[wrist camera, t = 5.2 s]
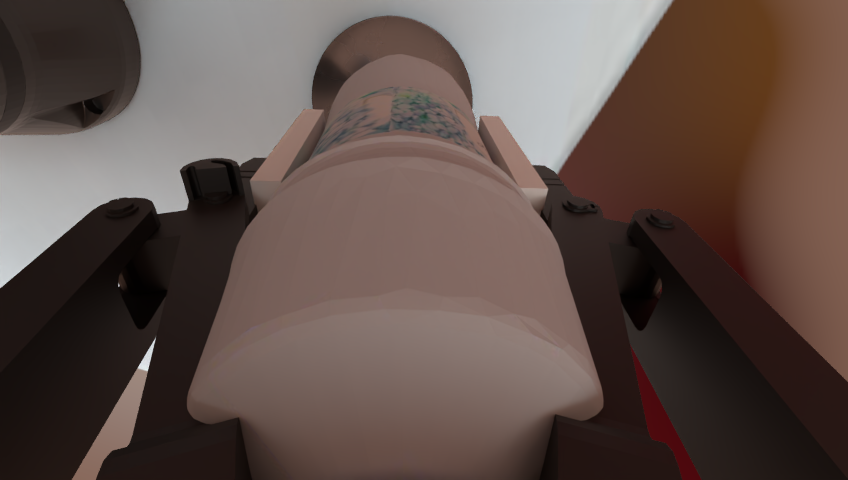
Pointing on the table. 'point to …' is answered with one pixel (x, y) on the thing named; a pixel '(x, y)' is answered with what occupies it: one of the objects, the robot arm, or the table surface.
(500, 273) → the bottle
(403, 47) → the flange disc
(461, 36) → the table surface
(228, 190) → the robot arm
